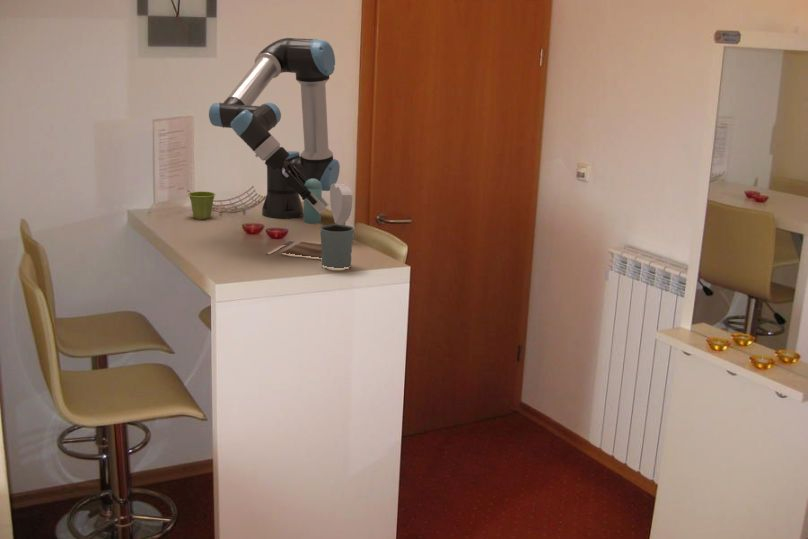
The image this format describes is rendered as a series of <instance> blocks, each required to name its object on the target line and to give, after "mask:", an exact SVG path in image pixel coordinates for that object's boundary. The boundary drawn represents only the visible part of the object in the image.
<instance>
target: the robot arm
mask: <svg viewBox="0 0 808 539" xmlns="http://www.w3.org/2000/svg"><path fill="white" fill-rule="evenodd" d="M335 65H336V56H335V53H334V49H333V47H332V45H331V44H330V42H328V41H326V40H321V39H318V38H295V37H294V38H293V37H286V38H280V39H277V40H275V41H274V42H272V43H270V44H268V45H267V46H266V47H264V48H263V49H262V50H261V51H260V52H259V53H258V54H257V56H256V57H255V59H254V64H253V65H252V67H251V68H250V69H249V71H247V73H246V74H245V75H244V77H243V78H242V79H241V80H240V82H239V83H238V84H237V85H236V86H235V88H234V89H233V90H232V91H231V93H230V94H229V95H228V96H227V98H225V100H224V101H223V102H214V103H212V104H211V106H210V107H209V109H208V119H209V122H210V124H211V125H212V126H214V127H220V128H223V129H224V128H225V129H227V128H228V129H232V130H233V131H234V133H235V134H236V135H237V136H238V137H239V138H240V139H241V140H242V142H244V143H245V144H246V145H247V146H248V147H249V148H250V150H252V151H253V152H254V153H255V157H256V158H258V157H259V159H260V160H261V161H262V162H263V161H264V165H265V166H266V196H265V199H264V201H263V205H262V208H261V214H262V215H263V216H265V217H268V218H274V219H295V218H299V217H303V212H304V206H303V204H302V201H304V199H305V198H306V200H307V201H308V202H309V203H310V204H311V205H312V206H313V207H314V208H315V209H316V211H317V212H318V213H319V214H321V215H322V213H323V212H324V211H326V210H327V207H328V206H329V203H328V202H327V201H326V200H325V199H324V197H322V201H321V202H320V200H319V199H318V198H317V197H316V196H315V195H314V194H313V193H311V192H310V191H309V190H308V189H307V188H306V186H305V185H304V184H305V182H306V181H307V180H309V179H312V178H314V179H317V180H319V181H320V183H321V185H322V192H323V191H324V192H328V191H329V192H330V186H331V184H337V182H338V181H339V180H338V179H339V175H340V168H341V167H340V162H339V160H338V159H335V158H334V152H333V151H332V150H330V148H329V137H328V136H329V131H328V112H327V92H326V91H327V90H326V87H327V86H326V84H327V82H328V81H329V80H330V76H331V75H332V74H334V71H335ZM282 73H293V74H295V80H296V81H297V83H298V84H300V96H301V112H302V127H303V128H302V129H303V131H302V132H303V144H304V146H303V147H304V148H303V149H304V150H303V151H302V152H301V153H300V151H295V150H294V151H293V150H290V151H288V150H286V149H285V147H283V146H281V143H280V142H279V141H278V140H277V138H275V137H274V136H273V135H272V134H271V133H270V131H271V130H273V128H275V127H276V126H277V124H278V123H279V122H280V121H281V118H282V113H281V110H280V108H279V106H278V105H276V104H275V103H273V102H265V103H262V104H260V105H253V104H254V103H255V101H256V100H258V98H259V96H260V95H261V94H262V93H263V91H264V90H265V88H266V87H267V86H268V85H269V83H270V82H271V81H272V80H273V79H275V78H277V77H278V76H279V75H280V74H282Z"/></svg>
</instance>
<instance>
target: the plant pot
mask: <svg viewBox="0 0 808 539" xmlns="http://www.w3.org/2000/svg"><path fill="white" fill-rule="evenodd" d="M187 195H188V196H189V200H190V203H191V210H192V216H193V218H195V219H196V220H205V219H211V217H212V210H213V205H214V204H213V202H214V199H215V196H216V193H215V192H212V191H203V190H202V191H193V192H189V193H188V194H187Z"/></svg>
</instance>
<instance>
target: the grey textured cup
mask: <svg viewBox="0 0 808 539" xmlns="http://www.w3.org/2000/svg"><path fill="white" fill-rule="evenodd" d="M319 230H320V232H319V233H320V244H321V245H322V246H321V250H322V260H321V266H322V265H324V266H327V267H334V268H344V267H349V266H351V265H352V253H353V252H352V251H353V244H354V243H353V242H354V236H355V228H354V227H353V226H350V225H346V224H343V225H337V224H325V225H322V226H320V228H319ZM351 267H352V266H351Z"/></svg>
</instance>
